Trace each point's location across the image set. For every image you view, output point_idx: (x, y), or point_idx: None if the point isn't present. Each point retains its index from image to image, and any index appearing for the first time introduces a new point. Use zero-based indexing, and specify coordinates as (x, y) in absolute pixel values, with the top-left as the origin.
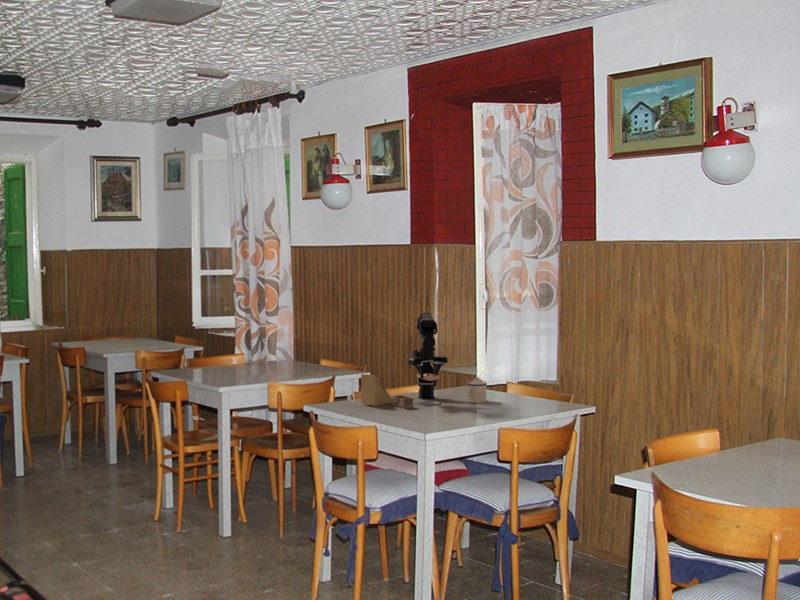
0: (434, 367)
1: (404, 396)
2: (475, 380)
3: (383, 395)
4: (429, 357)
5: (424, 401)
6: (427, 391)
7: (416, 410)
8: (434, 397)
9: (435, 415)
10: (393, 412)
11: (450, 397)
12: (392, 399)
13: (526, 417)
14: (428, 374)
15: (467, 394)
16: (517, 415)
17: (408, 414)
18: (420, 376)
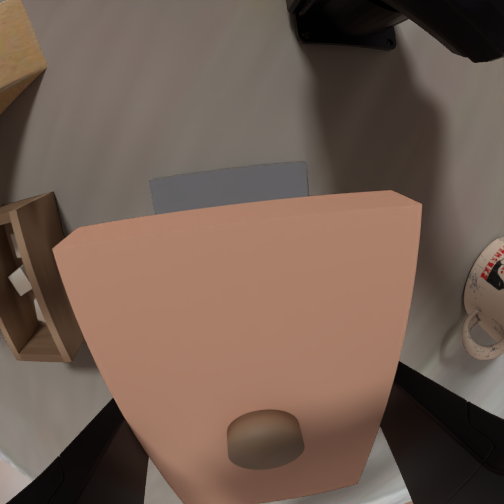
0: (464, 485)
1: (24, 263)
2: None
3: None
4: None
5: (231, 175)
6: (353, 18)
7: (99, 384)
8: (386, 48)
9: (157, 469)
10: (5, 369)
11: (474, 84)
12: (13, 84)
13: (370, 500)
14: (250, 464)
15: (463, 338)
16: (375, 490)
17: (61, 424)
18: (106, 418)
